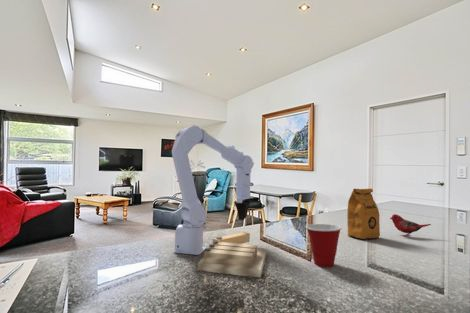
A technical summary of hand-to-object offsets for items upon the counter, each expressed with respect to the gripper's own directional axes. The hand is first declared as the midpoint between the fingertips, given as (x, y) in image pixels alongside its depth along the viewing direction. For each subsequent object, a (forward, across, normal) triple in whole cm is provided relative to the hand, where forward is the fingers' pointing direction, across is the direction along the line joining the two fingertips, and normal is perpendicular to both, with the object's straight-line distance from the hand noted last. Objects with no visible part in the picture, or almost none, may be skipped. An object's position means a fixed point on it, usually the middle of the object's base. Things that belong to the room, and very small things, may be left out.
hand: (242, 218), depth 100 cm
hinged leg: (+7, -11, +2) cm, 13 cm away
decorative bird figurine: (+10, +32, -73) cm, 80 cm away
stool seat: (+9, -21, -2) cm, 23 cm away
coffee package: (+10, +24, -51) cm, 57 cm away
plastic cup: (+10, -15, -29) cm, 34 cm away
